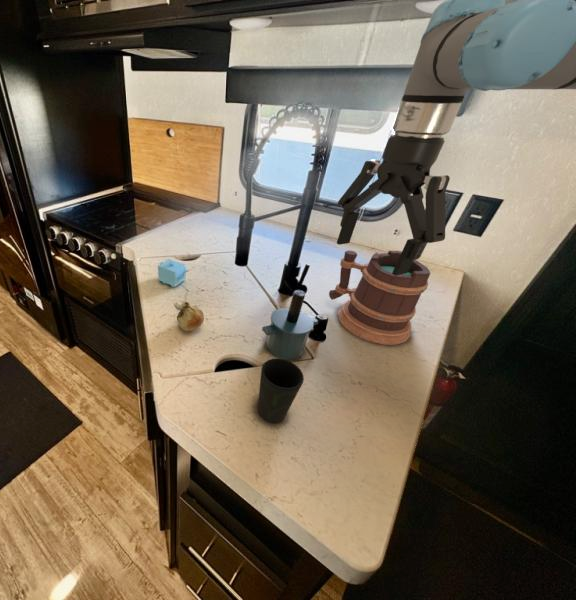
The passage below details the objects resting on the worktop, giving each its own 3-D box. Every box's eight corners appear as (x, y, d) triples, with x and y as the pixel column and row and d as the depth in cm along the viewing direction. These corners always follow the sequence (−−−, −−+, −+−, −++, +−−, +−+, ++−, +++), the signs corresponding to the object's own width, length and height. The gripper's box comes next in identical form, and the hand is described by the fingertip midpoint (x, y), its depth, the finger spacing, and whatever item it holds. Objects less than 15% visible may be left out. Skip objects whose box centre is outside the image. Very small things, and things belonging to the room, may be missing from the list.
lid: (321, 332, 74) (332, 301, 69) (285, 340, 72) (294, 309, 66) (295, 308, 82) (304, 278, 77) (262, 315, 79) (268, 285, 74)
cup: (275, 392, 69) (286, 354, 62) (297, 420, 64) (312, 382, 57) (245, 402, 67) (253, 364, 60) (266, 433, 61) (277, 394, 54)
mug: (335, 292, 102) (355, 235, 91) (415, 320, 90) (451, 259, 79) (313, 318, 91) (333, 257, 79) (402, 355, 79) (441, 289, 67)
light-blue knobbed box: (193, 284, 106) (194, 264, 102) (183, 292, 102) (183, 272, 98) (165, 273, 112) (165, 255, 108) (155, 280, 108) (154, 261, 104)
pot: (319, 352, 79) (328, 327, 75) (269, 365, 76) (276, 339, 71) (297, 330, 87) (304, 305, 82) (251, 341, 83) (255, 316, 78)
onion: (180, 338, 84) (181, 315, 79) (173, 320, 90) (173, 298, 85) (207, 334, 85) (209, 310, 81) (197, 316, 92) (199, 294, 87)
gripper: (339, 127, 57) (310, 235, 69) (489, 148, 38) (413, 293, 50) (371, 125, 59) (337, 231, 71) (529, 145, 40) (446, 285, 52)
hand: (368, 257), depth 61 cm, fingers open, 13 cm apart
